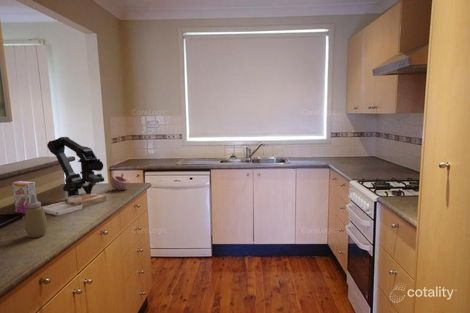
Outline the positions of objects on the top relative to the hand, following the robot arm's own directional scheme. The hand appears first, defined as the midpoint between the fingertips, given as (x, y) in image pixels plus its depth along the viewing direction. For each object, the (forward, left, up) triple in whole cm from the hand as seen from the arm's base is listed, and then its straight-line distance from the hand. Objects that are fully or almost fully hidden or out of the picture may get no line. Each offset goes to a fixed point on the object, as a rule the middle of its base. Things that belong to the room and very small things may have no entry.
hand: (88, 195), depth 182 cm
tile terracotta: (0, -4, -1) cm, 4 cm away
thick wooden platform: (0, -1, -4) cm, 4 cm away
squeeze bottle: (+26, -43, -4) cm, 51 cm away
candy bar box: (-12, -28, -4) cm, 31 cm away
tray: (0, -17, -4) cm, 17 cm away
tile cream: (0, -9, -1) cm, 9 cm away
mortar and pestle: (-8, +30, -4) cm, 31 cm away
